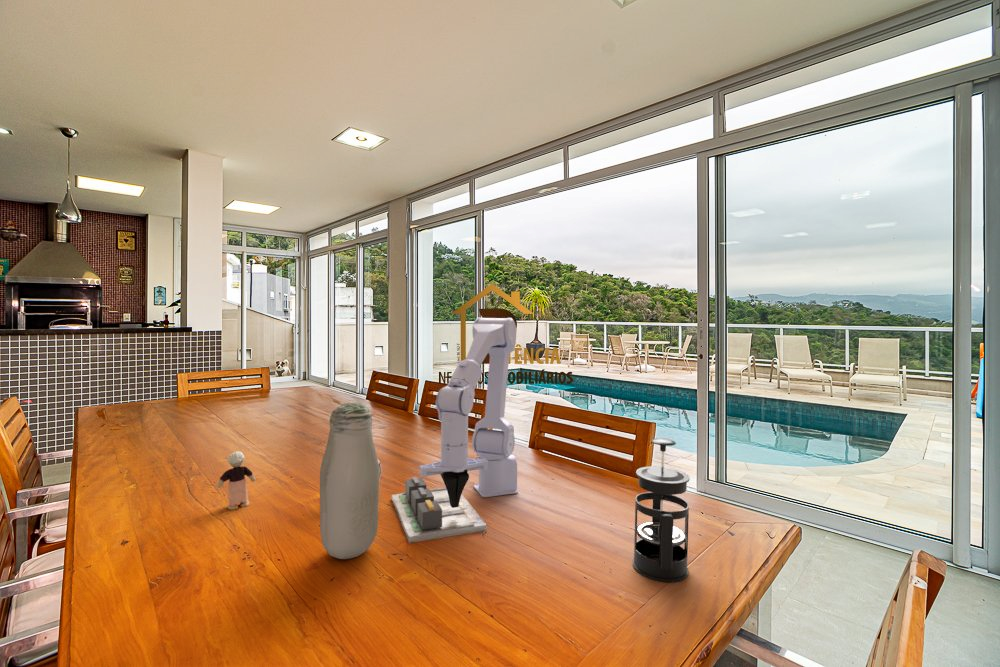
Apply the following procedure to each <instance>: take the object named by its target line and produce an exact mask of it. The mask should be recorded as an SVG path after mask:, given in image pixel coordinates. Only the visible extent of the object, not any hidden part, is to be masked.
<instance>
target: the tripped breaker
mask: <svg viewBox="0 0 1000 667" xmlns="http://www.w3.org/2000/svg"><path fill="white" fill-rule="evenodd" d="M418 522H419V524H420V526H421V528H422V530H425V529H431V528H438V527H442V509H441V507H440V506H439V504H438V503H437V501H430V500H425V502H423V503H418Z"/></svg>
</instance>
